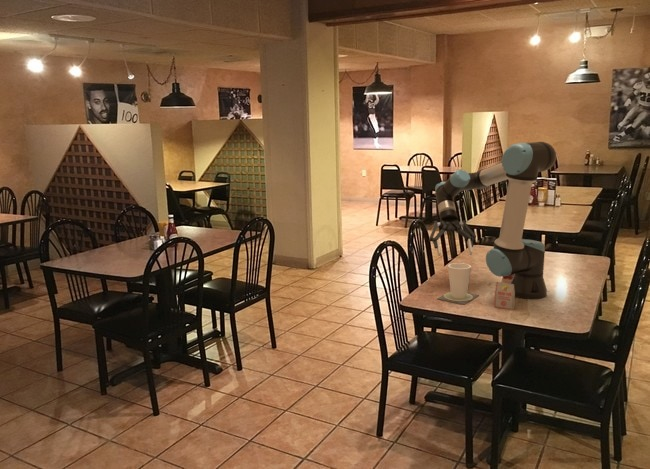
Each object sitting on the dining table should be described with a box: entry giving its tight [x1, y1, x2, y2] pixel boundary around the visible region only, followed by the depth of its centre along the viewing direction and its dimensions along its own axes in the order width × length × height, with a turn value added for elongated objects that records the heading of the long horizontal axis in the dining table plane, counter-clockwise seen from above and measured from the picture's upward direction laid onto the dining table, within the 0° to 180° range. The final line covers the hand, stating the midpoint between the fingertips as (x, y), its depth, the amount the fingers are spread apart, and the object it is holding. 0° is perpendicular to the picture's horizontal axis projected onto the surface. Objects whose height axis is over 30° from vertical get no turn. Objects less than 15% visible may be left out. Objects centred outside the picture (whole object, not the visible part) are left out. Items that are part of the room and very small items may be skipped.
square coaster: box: [436, 290, 480, 306], centre depth 238 cm, size 12×14×1 cm
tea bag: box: [493, 281, 516, 311], centre depth 225 cm, size 4×7×10 cm, turn 56°
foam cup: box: [447, 262, 472, 298], centre depth 237 cm, size 10×9×13 cm
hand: (455, 254), depth 242 cm, fingers open, 13 cm apart
